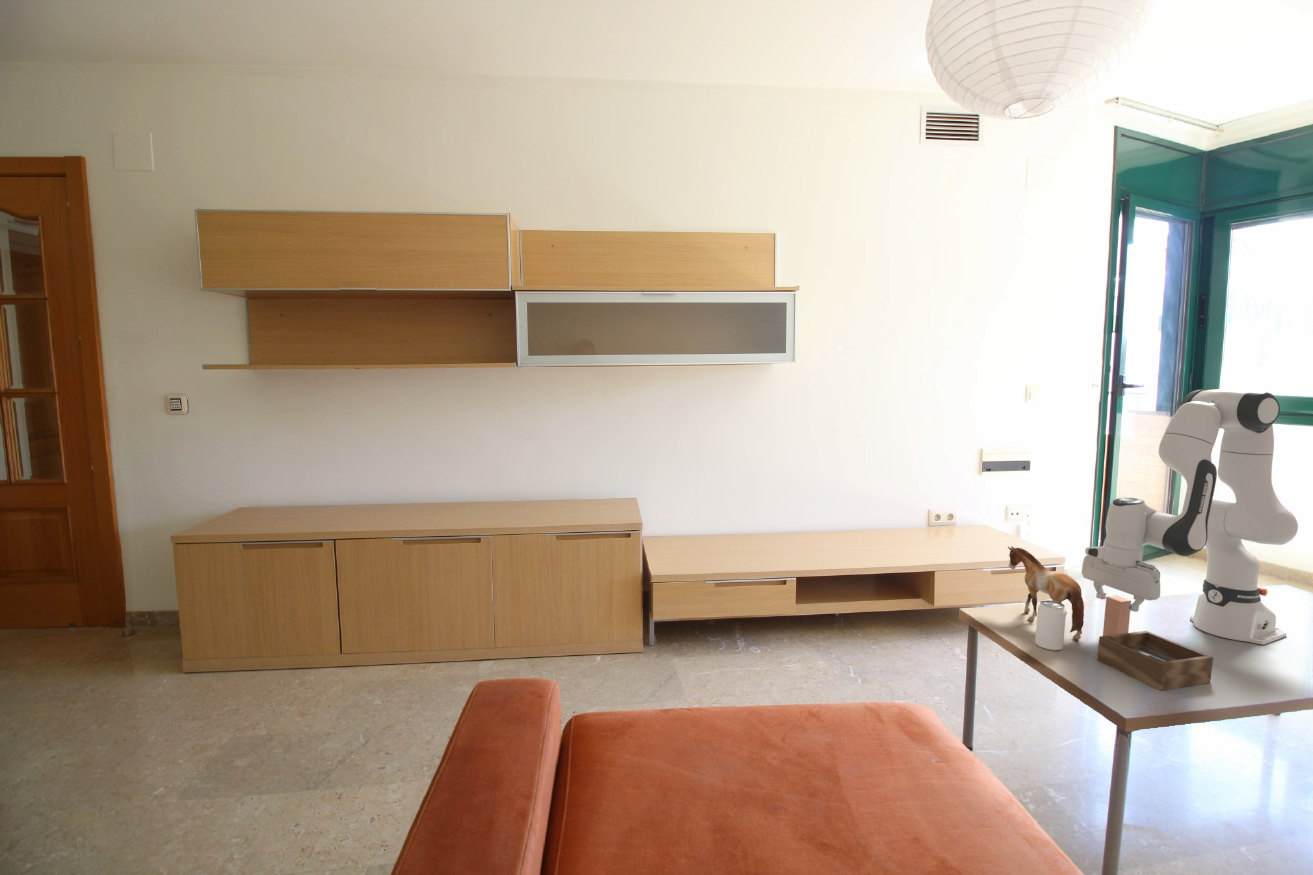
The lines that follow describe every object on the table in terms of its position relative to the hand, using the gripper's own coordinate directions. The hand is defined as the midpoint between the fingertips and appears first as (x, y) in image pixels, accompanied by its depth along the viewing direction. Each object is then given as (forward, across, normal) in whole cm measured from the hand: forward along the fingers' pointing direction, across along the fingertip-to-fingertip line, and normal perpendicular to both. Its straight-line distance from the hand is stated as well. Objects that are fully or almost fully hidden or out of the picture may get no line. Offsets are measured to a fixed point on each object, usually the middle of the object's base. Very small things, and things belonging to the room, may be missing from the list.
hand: (1116, 604), depth 176 cm
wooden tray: (+10, -17, +8) cm, 22 cm away
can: (+11, +1, +21) cm, 24 cm away
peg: (+10, 0, -1) cm, 10 cm away
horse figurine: (+11, +12, +13) cm, 21 cm away
